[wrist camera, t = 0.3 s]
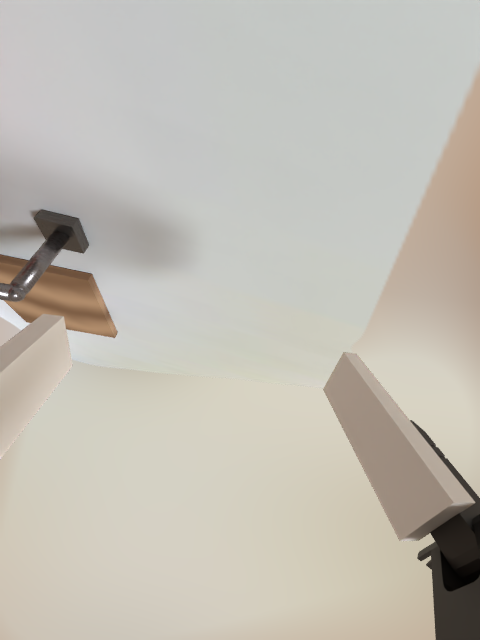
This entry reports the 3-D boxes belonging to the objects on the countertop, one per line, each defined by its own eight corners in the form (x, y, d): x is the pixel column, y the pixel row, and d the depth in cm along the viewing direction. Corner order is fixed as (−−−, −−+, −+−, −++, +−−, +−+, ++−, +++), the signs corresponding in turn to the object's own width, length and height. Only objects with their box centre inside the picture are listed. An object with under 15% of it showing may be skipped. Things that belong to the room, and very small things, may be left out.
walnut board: (-39, 246, 25) (-46, 252, 24) (91, 274, 27) (88, 280, 26) (30, 316, 36) (26, 321, 36) (117, 332, 38) (115, 337, 38)
